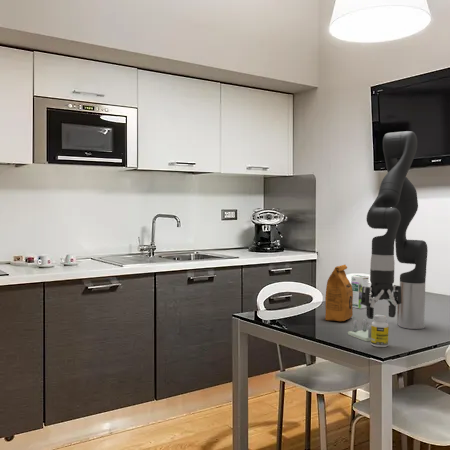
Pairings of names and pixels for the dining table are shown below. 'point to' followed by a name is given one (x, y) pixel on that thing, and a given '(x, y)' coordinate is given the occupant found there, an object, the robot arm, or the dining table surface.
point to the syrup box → (358, 289)
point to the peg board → (361, 331)
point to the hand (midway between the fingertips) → (381, 317)
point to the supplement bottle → (379, 331)
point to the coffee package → (338, 296)
